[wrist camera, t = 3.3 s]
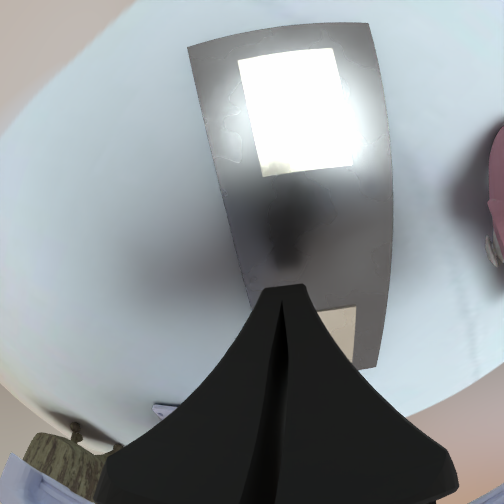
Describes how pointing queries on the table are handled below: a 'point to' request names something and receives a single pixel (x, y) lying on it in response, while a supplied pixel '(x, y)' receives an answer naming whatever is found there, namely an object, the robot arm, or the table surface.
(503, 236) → the video game controller
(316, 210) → the label panel
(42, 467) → the tabletop clock
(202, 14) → the table surface
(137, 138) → the table surface
